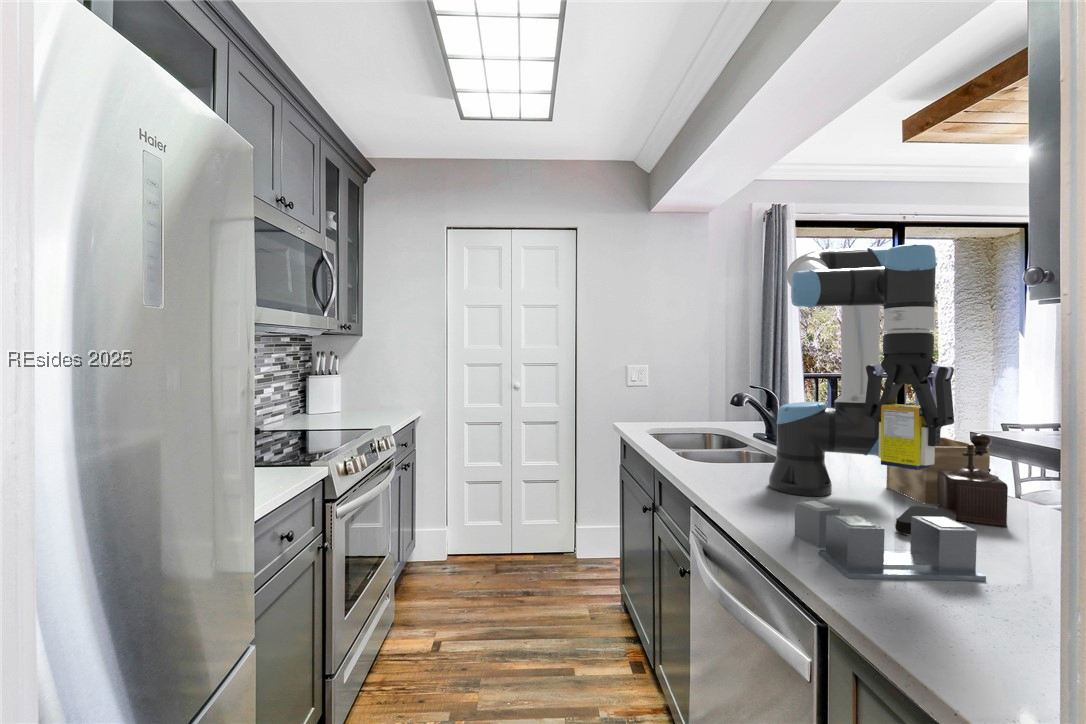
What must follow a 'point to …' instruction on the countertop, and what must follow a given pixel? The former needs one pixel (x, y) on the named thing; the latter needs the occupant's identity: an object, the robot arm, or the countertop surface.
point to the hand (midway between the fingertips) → (905, 460)
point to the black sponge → (905, 519)
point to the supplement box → (901, 436)
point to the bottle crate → (933, 471)
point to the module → (812, 521)
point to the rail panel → (932, 555)
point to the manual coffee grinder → (974, 490)
